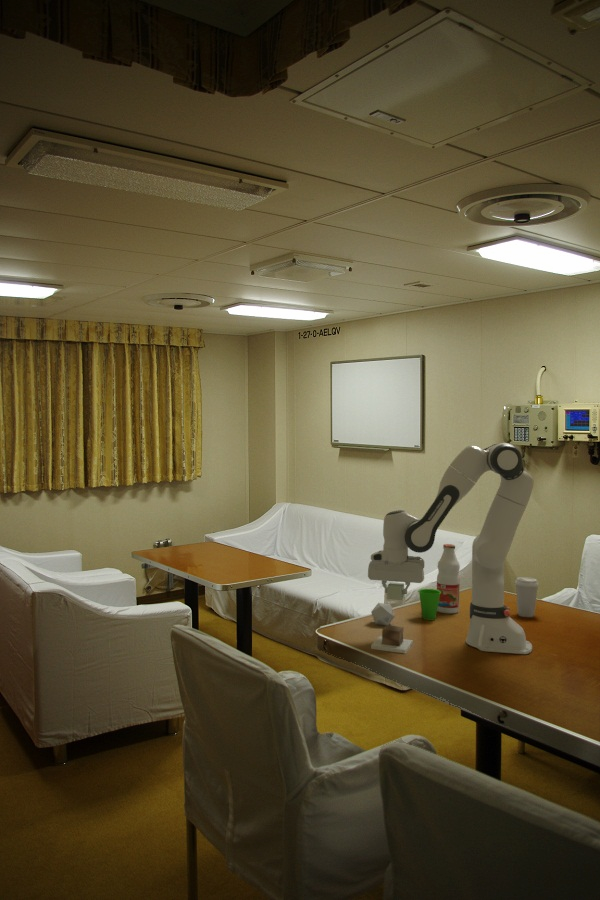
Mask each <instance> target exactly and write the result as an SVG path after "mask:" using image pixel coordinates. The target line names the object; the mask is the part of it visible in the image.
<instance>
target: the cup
mask: <svg viewBox="0 0 600 900" xmlns="http://www.w3.org/2000/svg"><path fill="white" fill-rule="evenodd" d="M418 593H419V594H418V595H419V601H420V608H421V609H420V610H421V617H422V619H423V618H424V619H423V620H426V619H428V620H427V621H434V620H436V618H437V612H438V611H437V608H438V603H439V597H440V593H441V591H439V590H437V589H434V588H422V589H419V590H418Z"/></svg>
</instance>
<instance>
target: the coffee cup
mask: <svg viewBox="0 0 600 900" xmlns="http://www.w3.org/2000/svg"><path fill="white" fill-rule="evenodd" d="M514 584H515V590H516V607H517V609H516V611H517V616H518V617H523V618H534V617H535V611H536V603H537V596H538V594H537V593H538V587H540V584H539V581H538V579H536V578H533V577H525V576H524V577H523V576H521V577H516V580H515V581H514Z"/></svg>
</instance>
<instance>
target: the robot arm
mask: <svg viewBox="0 0 600 900" xmlns="http://www.w3.org/2000/svg"><path fill="white" fill-rule="evenodd" d="M523 460H524V459H523V455H522V452H521V451H520V449H519V448H517V447H516V446H515V445H513V444H511V443H508V442H500V443H499V442H498V443H494V444H492V445H490V446H488V447H485V448H484V449H483V448H481V447H479V446H476V445H468V446H466V447H464V448H463V450H461V451H460V452H459V453H458V455H457V456H455V458H454V459H453V460H452V461H451V462H450V464H449V466H448V467H447V469H446V470H445V472H444V474H443V476H442V478H441V480H440V483H439V487H438V491H437V494H436V496H435V499H434V500H433V502H432V503H431V505H430V506H429V508H428V509H427V510H426V512H425V513H424V515H423V517H421V518H418V517H415V516H413V515H412V514H410V513H408V512H406V510H401V509H399V510H393V511H389V512H388V513H387V514H385V515H384V519H383V529H382V531H383V532H382V534H383V540H384V542H383V547H382V550H379V551H375V552H373V553H371V555H370V562H369V563H368V568H367V577H368V579H369V580H370V581H381V585H382V587H383V588H384V593H385V594H388V584H387V583H388V582H395V583H404V586H405V587H404V589H402V594H404V595H408V589H409V587H411V584H413V583H415V584H422V583H423V582H424V581H425V571H424V568H425V560H424V559H423V558H422V557H421V556H411V555H409V550H411V551H412V552H415V553H419V554H421V553H425V552H427V551H429V550H430V549H432V547H433V545H434V543H435V538H436V533H437V530H438V529H439V527H440V526H441V525H442V523H443V521H444V520H445V518H447V515H448V514H449V513H450V511H452V508H454V507H455V506H456V505H458V503H459V502H460V501H461V500H462V499H463V498H465V496H466V495H467V494H469V492H470V491H471V490H472V489H473V488H474V486H475V485H476V484H477V482H478V480H479V479H480V478H481V477H482V476H483V475H484V474H485V473H487V472H488V471H492V472H494V473H495V474H498V475H499V476H500V483H499V484H500V485H499V487H498V488H497V491H496V494H495V496H494V498H493V500H492V502H491V505H490V507H489V509H488V511H487V513H486V517H485V518H484V522H483V525H482V528H481V529H480V533H479V534H478V535H476V537H475V538H474V539H473V542H472V544H471V545H472V547H471V555H472V556H471V602H470V603H469V619H470V620H469V627H468V632H467V636H466V638H465V643H466V644H467V645H469V646H470V647H473V648H476V649H478V650H479V651H481V652H492V653H505V654H515V655H516V654H517V655H528V654H530V653H532V650H533V645H532V643H531V642H530V641H528V640H527V639H526V638H527V637H526V633H525V631H524V628H523V627H522V626H521V625H520V624H518V622H516V621H515V620H514V619H513V618H511V617H510V615H511V608H510V607H509V606H506V605H505V604H504V603H505V569H504V567H505V566H504V564H505V560H506V558H507V557H508V554H509V552H510V548H511V546H512V543H513V540H514V538H515V535H516V531H517V529H518V527H519V524H520V521H521V519H522V517H523V515H524V512H525V511H526V508H527V506H528V503H529V501H530V498H531V496H532V492H533V488H534V484H535V482H534V481H535V480H534V478H533V477H532V475H531V474H530V473H529V472H527V471H525V470H524V469H525V468H524V462H523Z"/></svg>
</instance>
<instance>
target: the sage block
mask: <svg viewBox="0 0 600 900" xmlns="http://www.w3.org/2000/svg"><path fill="white" fill-rule="evenodd" d="M387 587H388V593H387V600H397V601H402V600H403V599H404V598H405V594H402V589H405V582H393V581H390V582H389V583H388V584H387Z"/></svg>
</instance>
